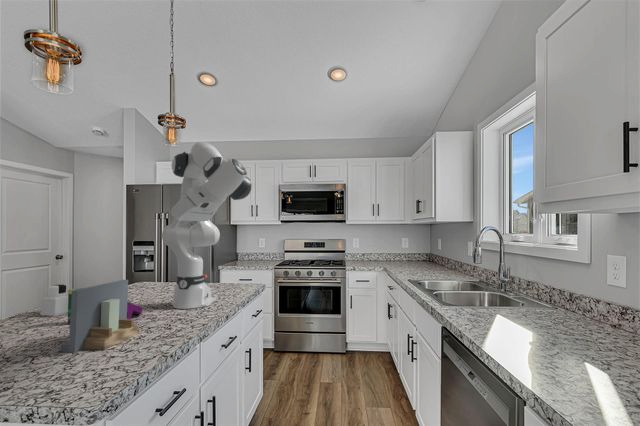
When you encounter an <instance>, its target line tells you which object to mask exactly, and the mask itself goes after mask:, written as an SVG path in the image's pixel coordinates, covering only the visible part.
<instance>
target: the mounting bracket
mask: <svg viewBox="0 0 640 426" xmlns="http://www.w3.org/2000/svg"><path fill="white" fill-rule="evenodd" d="M142 313H143V307H141V306H139V305H136V304H135V303H132V302H129V301H127V319H132V315H142Z"/></svg>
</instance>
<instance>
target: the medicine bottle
mask: <svg viewBox="0 0 640 426" xmlns="http://www.w3.org/2000/svg"><path fill="white" fill-rule="evenodd" d="M46 295H47V296H46V297H45V296H44V297H41V300H40V316H44V317H45V316H47V317H50V316H51V317H56V316H60V315H63V314H64V315H65V314H68V294H67V285H66V284H53V285H49V286H48V287H47V294H46Z"/></svg>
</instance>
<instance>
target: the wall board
mask: <svg viewBox="0 0 640 426" xmlns="http://www.w3.org/2000/svg"><path fill="white" fill-rule="evenodd" d="M77 289H78V290H73V291H72V298H71V318H70V325H69V339H68V341H66V342H63V343H60V345H59V352H63V353H64V352H65V353H66V352H67V353H77V352H78V351H81V350H83V349H85V348H84V338H87V337H89V336H90V333H91V328H93V327H100V326H101V304H102V301H105V300H109V299H120V301H119V319H127V302H128V298H129V297H128V293H129V279H121V280H116V281H112V282H107V283H102V284H97V285H94V286H93V285H91V286H88V287H83V288H82V289H80V288H77ZM76 351H77V352H76Z"/></svg>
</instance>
